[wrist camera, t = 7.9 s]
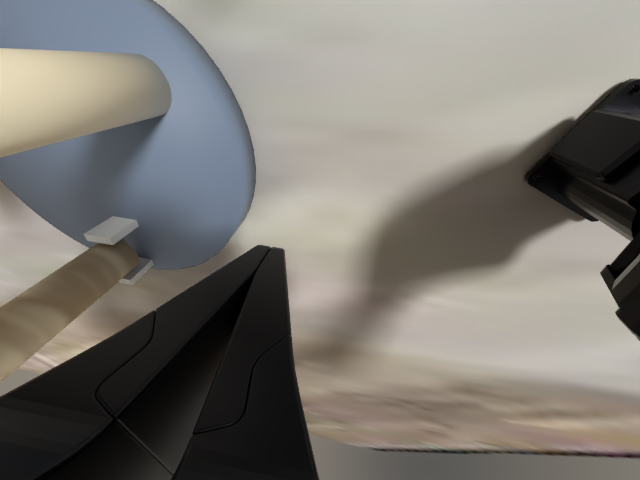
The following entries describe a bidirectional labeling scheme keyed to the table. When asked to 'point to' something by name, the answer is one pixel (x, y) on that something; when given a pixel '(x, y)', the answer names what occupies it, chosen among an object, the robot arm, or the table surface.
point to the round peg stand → (121, 129)
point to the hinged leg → (59, 301)
